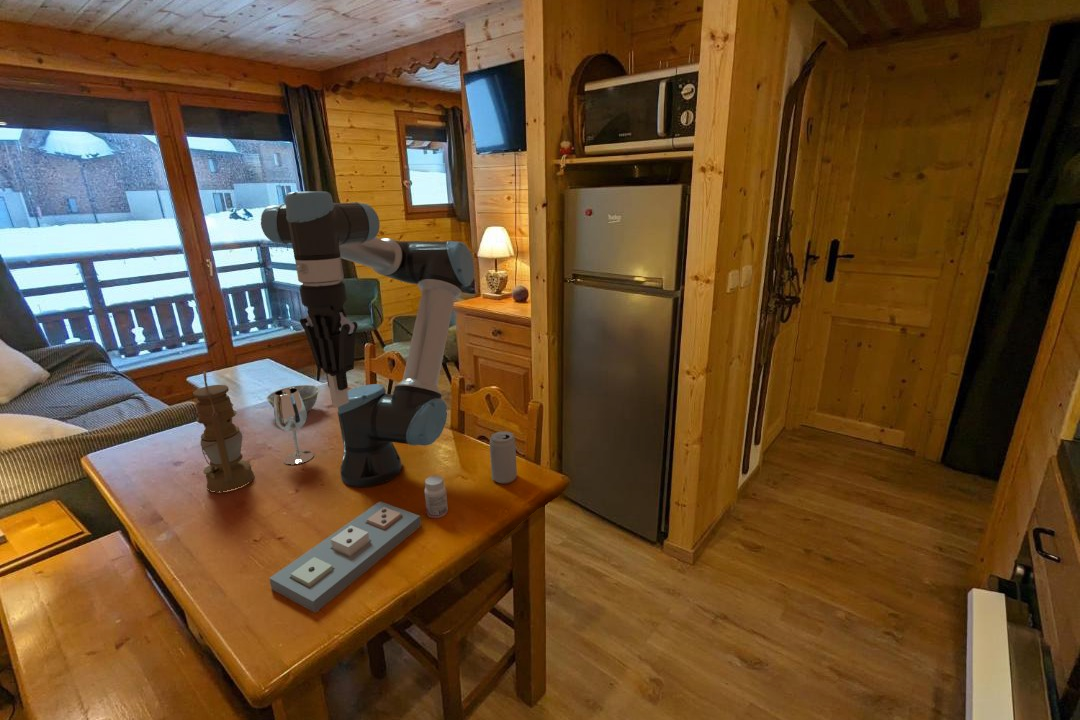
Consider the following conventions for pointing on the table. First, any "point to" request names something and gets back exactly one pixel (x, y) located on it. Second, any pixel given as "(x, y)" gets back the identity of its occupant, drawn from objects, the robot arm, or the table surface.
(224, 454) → the lantern
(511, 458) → the beverage can
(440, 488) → the pill bottle
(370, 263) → the robot arm
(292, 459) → the wineglass
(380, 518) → the key three
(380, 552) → the key board
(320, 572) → the key one
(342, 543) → the key two
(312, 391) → the bowl
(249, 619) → the table surface
